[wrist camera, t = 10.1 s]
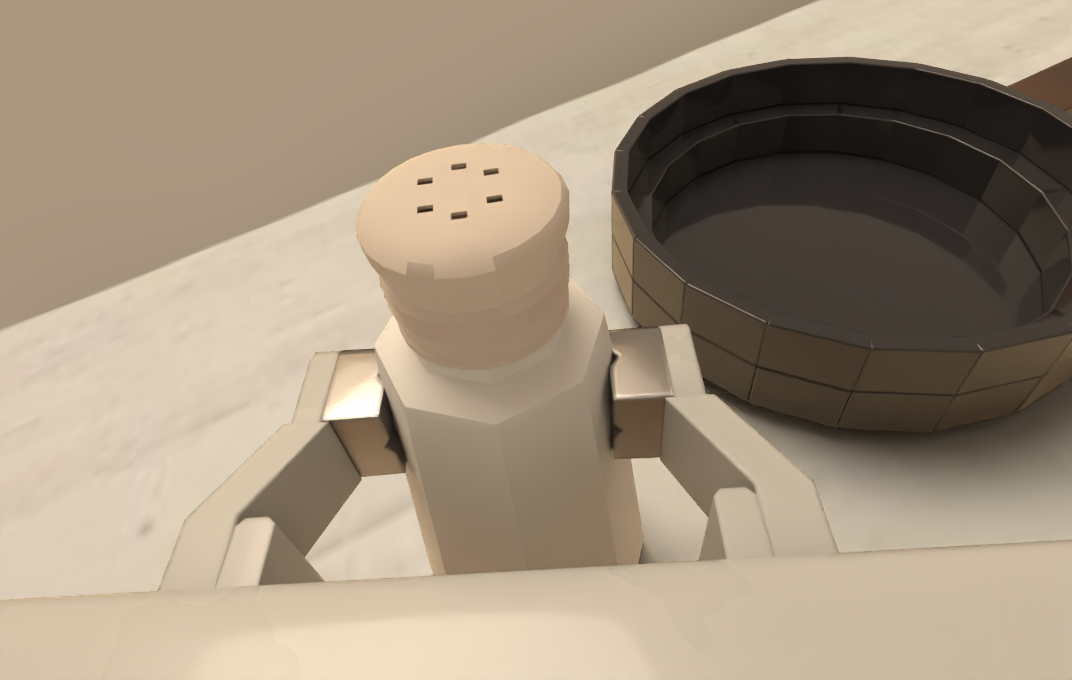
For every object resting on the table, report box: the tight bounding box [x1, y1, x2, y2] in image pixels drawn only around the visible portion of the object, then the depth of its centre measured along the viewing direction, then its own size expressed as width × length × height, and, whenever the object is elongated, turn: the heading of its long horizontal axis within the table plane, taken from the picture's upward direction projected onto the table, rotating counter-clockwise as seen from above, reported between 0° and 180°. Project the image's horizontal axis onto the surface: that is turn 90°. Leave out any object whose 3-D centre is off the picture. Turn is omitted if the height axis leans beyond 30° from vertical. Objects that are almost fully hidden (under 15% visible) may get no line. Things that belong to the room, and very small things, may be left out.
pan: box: [611, 57, 1072, 433], centre depth 21 cm, size 15×15×4 cm
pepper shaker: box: [356, 143, 644, 575], centre depth 12 cm, size 5×5×11 cm
